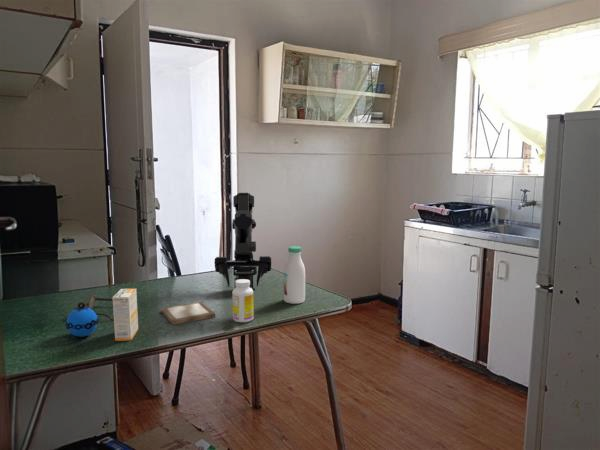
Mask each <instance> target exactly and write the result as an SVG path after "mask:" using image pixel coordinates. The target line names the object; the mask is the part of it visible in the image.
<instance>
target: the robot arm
mask: <svg viewBox="0 0 600 450" xmlns="http://www.w3.org/2000/svg"><path fill="white" fill-rule="evenodd" d="M232 197H233V201H232V202H233V203H232V205H233V208H234V209H235V211H234V212H235V214H234V218H233V219H232V222H231V223H232V224H231V226H232V230H234V235H235V237H234V243H235V244H234V250H233V252H234V253H233V254H234V255H233V258H234V260H233V259H232V260H228V258H227V256H216V257H215V258H214V271H215V273H219V275H222V276H223V278H224V279H225V282H226V286H227V287H228V288H230V276H229V268H230V267H233V268H232V272H233V273H232V274H233V276H234V279H233V280H234V281H233V282H234V283H233V284H234V287H233V290H234V289H235V288H236V285H235V281H236V280H239V279H247V280H250V286H249V287H250V288H252V290H253V291H255V290H256V288H255V287H254V276H256V287H259V284H260V282H261V280H262V278H263V276H264V275H265V274H268V272H270V271H272V257H271V256H270V255H268V256H267V255H266V256H265V255H264V256H262V255H261V256H259V260H256V259H254V254H253V253H256V251H257V241H252V238H253V237H252V232H253V230H255V227H257V223H256V221H255V218H254V219H253V208H255V196H254V195H251V193H249V192H238V193H237V194H235V195H234V196H232ZM228 267H229V268H228Z"/></svg>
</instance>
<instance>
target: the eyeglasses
mask: <svg viewBox="0 0 600 450" xmlns="http://www.w3.org/2000/svg"><path fill="white" fill-rule="evenodd" d="M95 301H98V302H99V301H100V302H101V301H104V302H105V301H106V302H107V301H108V302H113V298H107V297H106V298H105V297H103V298H101V297H96V296H95V295H94V294H92V295H91V296H90V298H89V299H88V301H87V302H86V303H85V302H82V301H81V302H80V303H84V305H85V306H84V307H86V306H87V307H86V308H89V309H91V310H92V309H93V308H94V305H95ZM81 306H82V304H81V305H80V307H81ZM76 308H79V307H78V305H77V306H76ZM95 313H96V315H97V316H105V317H106V318H107V319H108V320H110V321H111V322H114V318H112V317H111V316H109V315H108V314H106V313H102V312H95Z"/></svg>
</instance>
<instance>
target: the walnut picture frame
mask: <svg viewBox="0 0 600 450" xmlns="http://www.w3.org/2000/svg"><path fill="white" fill-rule="evenodd" d="M160 312H161V313H162V315H163V316H164V317H165V318H166V319H167V320H168V321H169V323H171V325H173V326H174V325H179V324H184V323H185V324H186V323H191V322H195V321H201V320H207V319H212V318H216V313H215V312H214V311H213V310H212V309H211V308H209V307H208V306H207V305H206V304H204V303H203V301H197V302H190V303H186V304H185V303H183V304H178V305H173V306H167V307H160Z"/></svg>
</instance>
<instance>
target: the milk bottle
mask: <svg viewBox="0 0 600 450" xmlns="http://www.w3.org/2000/svg"><path fill="white" fill-rule="evenodd" d="M287 250H288V253H287V254H288V258H287V260H286V263H285V266H284V270H283V301H284V302H285V303H288V304H293V305H297V304H298V305H299V304H301V303H304V302H305V300H306V268H305V264H304V262H303V260H302V257H301V254H302V247H301V246H297V245H292V246H288V249H287Z"/></svg>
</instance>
